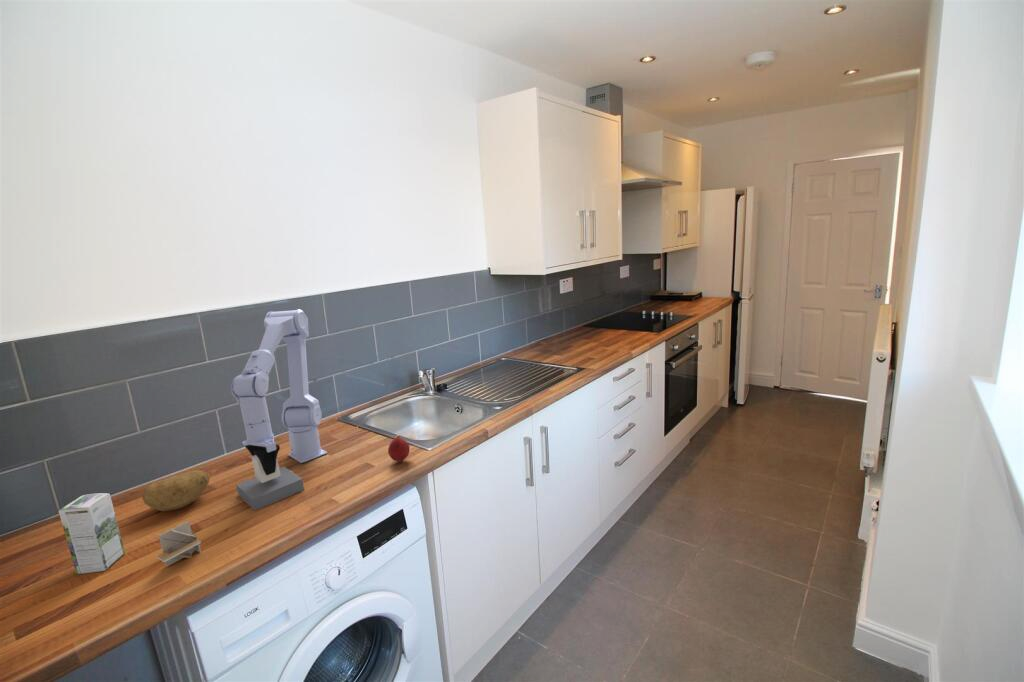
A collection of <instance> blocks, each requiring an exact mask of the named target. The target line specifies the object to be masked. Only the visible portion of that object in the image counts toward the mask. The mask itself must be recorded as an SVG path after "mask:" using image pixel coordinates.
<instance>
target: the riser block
mask: <svg viewBox="0 0 1024 682" xmlns="http://www.w3.org/2000/svg"><path fill="white" fill-rule="evenodd" d="M279 470H280V475H281V476H279V477H276V478H274V479H271V480H269V481H266V482H264V483H262V482H260V481H259V480H258V479H257V478H256V476H255V477H252V478H250V479H246V480H244V481H241V482H239V483H237V484H236V485H235V486H236V490H237V493H238V494H237V495H238V496H239V497H240V498H241V499H242V500H243V501H244V502H246V504H247V505H248V506H249V507H250V508H252V509H253V510H254V511H257V510H260V509H262V508H264V507H267V506H268V505H271V504H274V503H276V502H278V501H281V500H283V499H285V498H287V497H290V496H292V495H295V494H297V493H299V492H302V491H304V490H305V486H304V481H303V478H302V477H300V476H299V475H298V474H296V473H294V472H293V471H292V470H290V469H288V468H287V467H286V466H285V465H284V466H281V467H279Z"/></svg>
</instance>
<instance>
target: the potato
mask: <svg viewBox="0 0 1024 682" xmlns="http://www.w3.org/2000/svg"><path fill="white" fill-rule="evenodd" d="M210 480H211V477H210V475H209V473H207V472H206V471H203V470H191V471H188V472H185V473H181V474H177V475H173V476H169V477H167V478H164V479H162V480H158V481H156V482H155V481H154V482H153V483H151V484H149V485H147V486H146V488H145V489H144V490H143V492H142V500H143V503H144V504H145V505H146V506H148V507H149V508H150V509H153V510H156V511H161V512H168V511H174V510H175V511H176V510H179V509H182V508H185V507H187V506H188V505H190V504H192V503H193V502H194V501H195V500H197V499H198V498H199V497H200V496H201V495H202V494H203V493H204V492H205V491H206V489H207V487H208V485H209V483H210Z"/></svg>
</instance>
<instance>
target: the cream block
mask: <svg viewBox="0 0 1024 682" xmlns="http://www.w3.org/2000/svg"><path fill="white" fill-rule="evenodd" d="M251 461H252V467H253V471H254V476H255V477H256V478H257V479H258V480H259V481H260V482H262V483H264V482H266V481H269V480H271V479H274V478H276V477H279V476H281V475H280V470H279V468H280V466H279V459H278V457H277V458H276V470H275V473H272V474H269V475H266V474H265V472H264V470H263V467H262V464H261V462H260V460H259V458H258V457H257V456H256V455H254V456H252V455H251Z"/></svg>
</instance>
